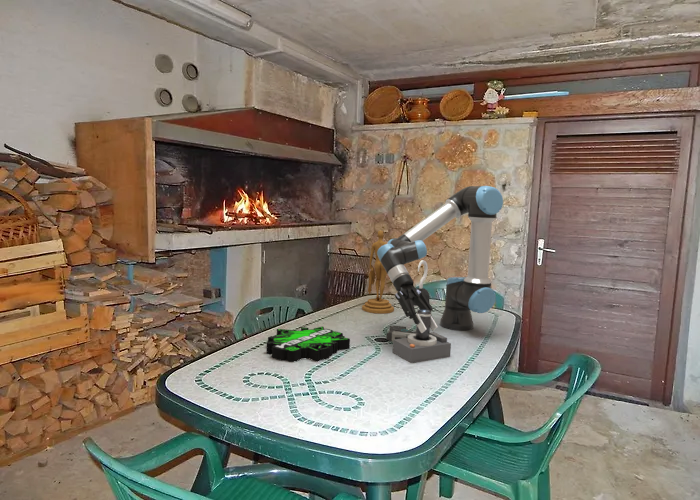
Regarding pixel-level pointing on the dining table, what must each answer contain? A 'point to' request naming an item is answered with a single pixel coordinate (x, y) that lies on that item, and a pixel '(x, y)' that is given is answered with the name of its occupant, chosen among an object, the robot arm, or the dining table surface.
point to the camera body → (422, 348)
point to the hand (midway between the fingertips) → (429, 330)
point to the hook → (423, 280)
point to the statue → (377, 282)
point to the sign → (306, 344)
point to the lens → (426, 318)
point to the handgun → (398, 333)
